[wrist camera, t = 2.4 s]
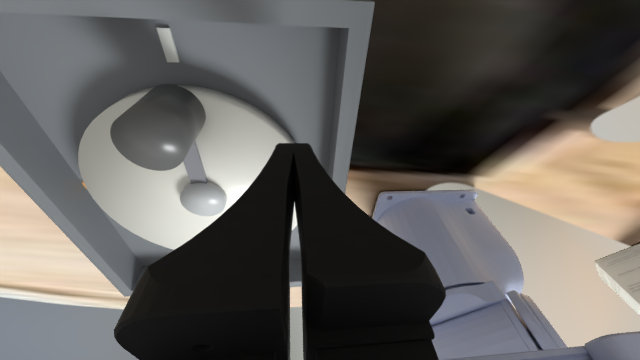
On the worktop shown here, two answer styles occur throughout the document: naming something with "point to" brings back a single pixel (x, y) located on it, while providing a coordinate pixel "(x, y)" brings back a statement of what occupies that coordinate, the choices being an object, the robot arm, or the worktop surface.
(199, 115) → the dial
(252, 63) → the bezel plate
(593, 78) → the worktop surface
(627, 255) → the supplement box
